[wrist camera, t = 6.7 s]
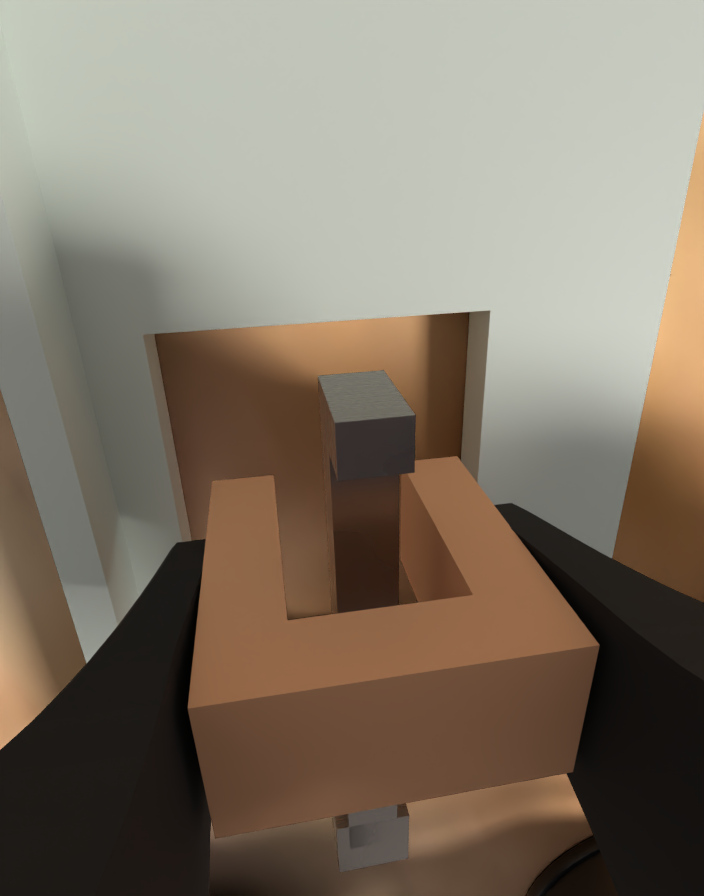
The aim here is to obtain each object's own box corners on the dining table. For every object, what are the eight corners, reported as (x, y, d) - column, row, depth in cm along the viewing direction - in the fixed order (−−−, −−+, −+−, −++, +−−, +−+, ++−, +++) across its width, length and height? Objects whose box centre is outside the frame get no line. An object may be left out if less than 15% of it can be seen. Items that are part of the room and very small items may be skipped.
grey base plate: (715, -177, 10) (883, -300, 7) (557, 705, 20) (606, 788, 17) (-91, -220, 8) (-250, -405, 6) (167, 772, 18) (153, 877, 15)
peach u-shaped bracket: (457, 456, 12) (599, 645, 7) (451, 551, 13) (572, 771, 8) (212, 481, 11) (187, 708, 6) (226, 579, 12) (215, 838, 8)
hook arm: (351, 307, 13) (435, 413, 7) (361, 665, 17) (418, 900, 12) (282, 311, 12) (314, 424, 7) (312, 672, 17) (345, 915, 12)
